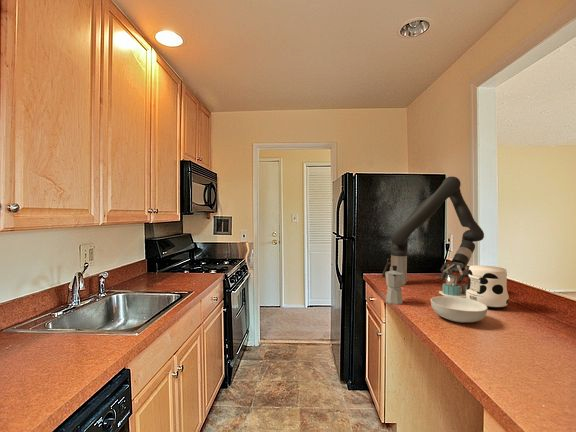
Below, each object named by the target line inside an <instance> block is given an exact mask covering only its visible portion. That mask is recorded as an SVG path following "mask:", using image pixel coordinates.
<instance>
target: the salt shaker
mask: <svg viewBox="0 0 576 432" xmlns="http://www.w3.org/2000/svg"><path fill="white" fill-rule="evenodd" d="M445 283H446V286H452V287H456V284H457V274H456V273H455V274H454V273H448V274H446V277H445Z"/></svg>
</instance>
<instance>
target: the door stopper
mask: <svg viewBox="0 0 576 432" xmlns="http://www.w3.org/2000/svg"><path fill="white" fill-rule="evenodd" d="M388 266H390V267H391V258H387V259H386V265H385V267H384V269H383V272H382V274H381V278H386V275H385V272H388V271H387V270H388Z"/></svg>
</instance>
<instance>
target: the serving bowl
mask: <svg viewBox="0 0 576 432" xmlns="http://www.w3.org/2000/svg"><path fill="white" fill-rule="evenodd" d="M430 304H431V308H432V310H433V311H434V312H435V313H436V314H437V315H438V316H440V317H442V318H444V319H446V320H448V321H451V322H455V323H464V324H465V323H466V324H467V323H476V322H479V321H481V320H483V319H484V318H485V317H486V315H487V313H488V310H489V308H487V306H486V305H484V304H482V303H480V302H478V301H474V300H471V299H466V298H461V297H453V296H443V295H440V296H433V297H432V298H430Z"/></svg>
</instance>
